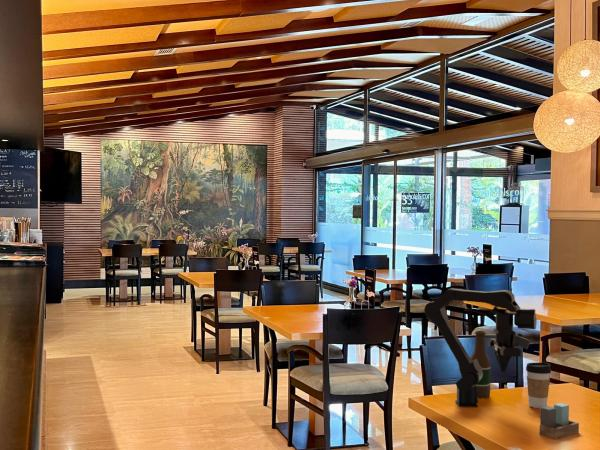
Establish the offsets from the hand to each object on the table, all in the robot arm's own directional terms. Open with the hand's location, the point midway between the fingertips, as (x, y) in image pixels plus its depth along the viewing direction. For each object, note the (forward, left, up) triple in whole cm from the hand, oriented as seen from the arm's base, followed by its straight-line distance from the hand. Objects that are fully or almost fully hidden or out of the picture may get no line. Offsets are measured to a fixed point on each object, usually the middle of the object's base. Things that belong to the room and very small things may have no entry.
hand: (503, 372), depth 229 cm
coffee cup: (+14, +5, -13) cm, 20 cm away
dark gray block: (+6, -25, -13) cm, 29 cm away
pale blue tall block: (+11, -22, -13) cm, 28 cm away
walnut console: (+9, -25, -13) cm, 30 cm away
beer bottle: (-3, +18, -13) cm, 23 cm away
